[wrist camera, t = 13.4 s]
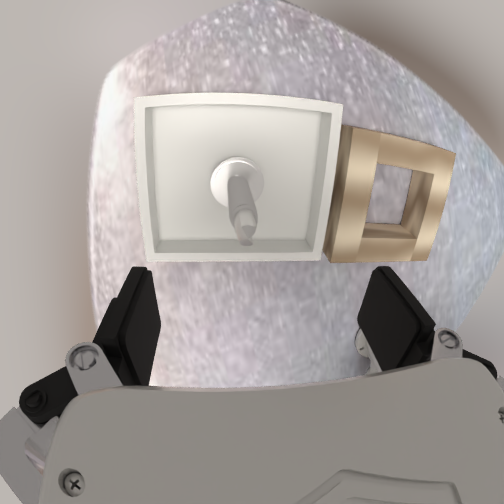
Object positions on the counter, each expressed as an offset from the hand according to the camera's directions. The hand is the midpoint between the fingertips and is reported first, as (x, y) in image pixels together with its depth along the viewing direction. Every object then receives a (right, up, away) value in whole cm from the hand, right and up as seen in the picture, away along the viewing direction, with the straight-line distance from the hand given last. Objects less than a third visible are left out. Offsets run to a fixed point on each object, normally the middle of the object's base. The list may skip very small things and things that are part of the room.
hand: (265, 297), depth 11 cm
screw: (-2, +9, +15) cm, 18 cm away
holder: (+15, +9, +18) cm, 25 cm away
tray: (-2, +10, +16) cm, 19 cm away
